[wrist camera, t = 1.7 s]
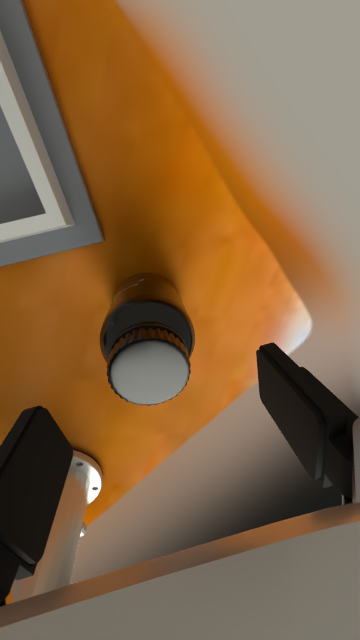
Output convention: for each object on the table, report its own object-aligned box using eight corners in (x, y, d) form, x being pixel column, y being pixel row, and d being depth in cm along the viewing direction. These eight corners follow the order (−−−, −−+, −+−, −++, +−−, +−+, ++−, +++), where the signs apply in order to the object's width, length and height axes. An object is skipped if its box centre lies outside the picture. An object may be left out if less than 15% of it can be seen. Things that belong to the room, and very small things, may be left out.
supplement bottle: (121, 263, 22) (100, 301, 11) (187, 282, 23) (228, 332, 12) (107, 326, 24) (77, 412, 13) (168, 339, 25) (188, 425, 15)
